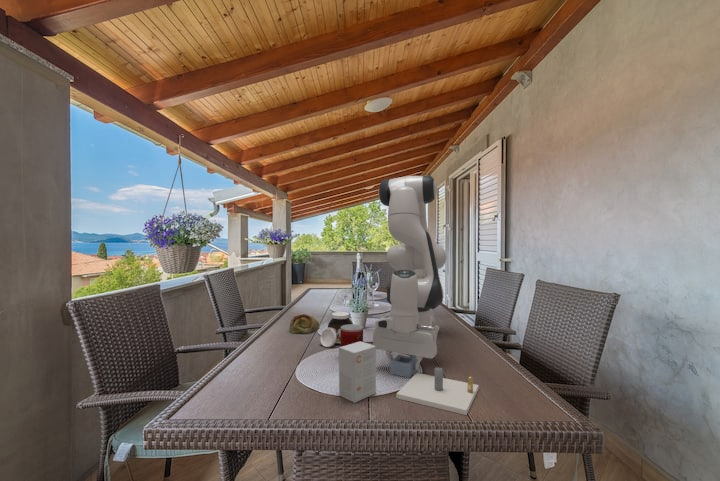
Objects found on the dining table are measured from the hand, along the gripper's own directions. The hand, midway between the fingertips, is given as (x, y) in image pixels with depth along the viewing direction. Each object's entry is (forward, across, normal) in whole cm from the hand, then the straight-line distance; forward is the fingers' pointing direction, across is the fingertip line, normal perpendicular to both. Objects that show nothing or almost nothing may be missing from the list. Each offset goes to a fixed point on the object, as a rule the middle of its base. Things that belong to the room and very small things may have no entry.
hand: (403, 367), depth 109 cm
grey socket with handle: (+2, 0, -3) cm, 4 cm away
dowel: (+1, -21, +7) cm, 22 cm away
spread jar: (+2, +34, -14) cm, 36 cm away
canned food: (+2, +20, -3) cm, 21 cm away
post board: (+2, -14, +9) cm, 16 cm away
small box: (+2, +6, +20) cm, 21 cm away
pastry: (+2, +57, -24) cm, 61 cm away
